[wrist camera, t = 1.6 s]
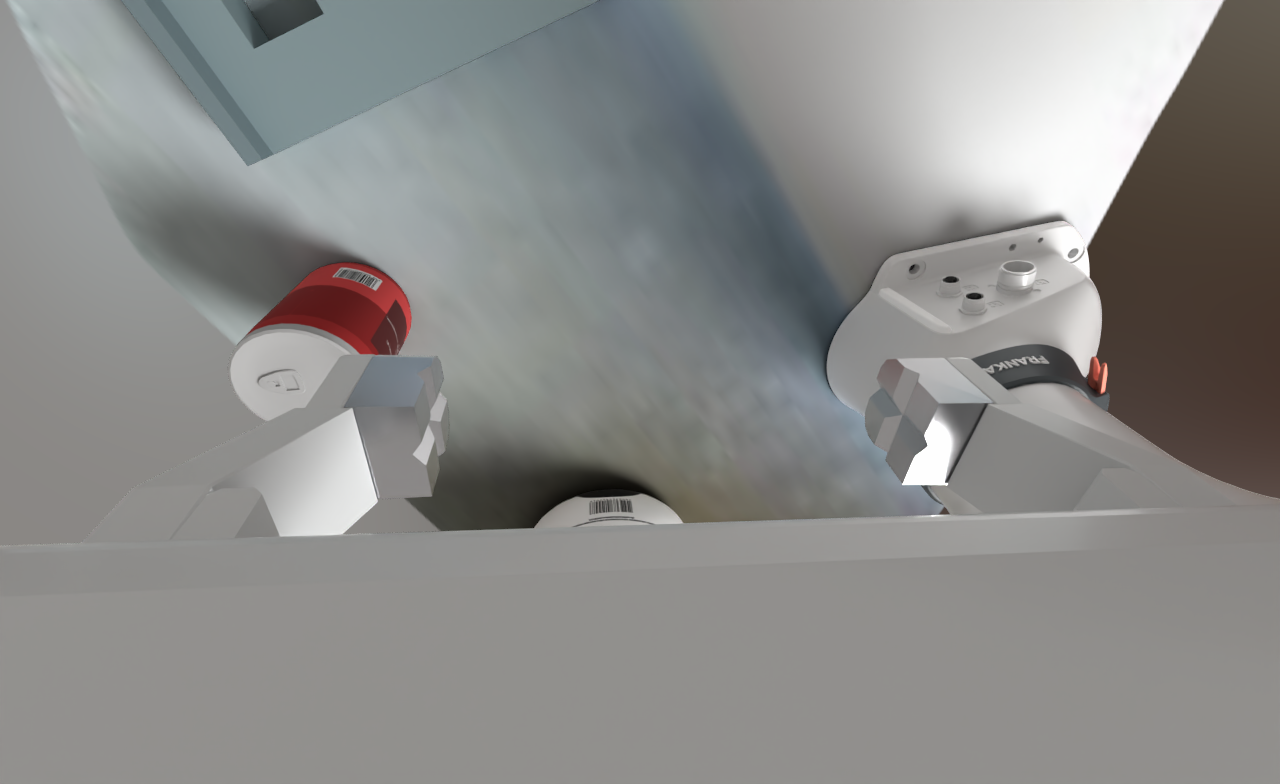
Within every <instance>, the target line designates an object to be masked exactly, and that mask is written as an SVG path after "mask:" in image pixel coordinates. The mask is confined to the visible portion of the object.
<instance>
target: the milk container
mask: <svg viewBox="0 0 1280 784" xmlns="http://www.w3.org/2000/svg"><path fill="white" fill-rule="evenodd" d="M680 523H683V522H682V521H681V519H680V518H679V516H678V515H677V514H676V513H675V512H674V511H673V510H672V509H671V508H669V507H668V506H667V505H666V504H665V503H663V502H661V501H659V500H657V499H655V498H653V497H651V496H649V495H647V494H644V493H640V492H635V491H629V490H622V489H607V490H597V491H591V492H586V493H583V494H580V495H577V496H574V497H572V498H569V499H567V500H565V501H563V502H561V503H559V504H558V505H556V506H555V507H554V508H552V509H551V510H550V511H549V512H547V513H546V514H545V515H544V516H543V517H542V518H541V519H540V521H539V522H538V523H537V524H536V526H535V527H534V528H557V527H588V526H619V525H649V524H680Z"/></svg>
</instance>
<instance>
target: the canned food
mask: <svg viewBox="0 0 1280 784" xmlns="http://www.w3.org/2000/svg"><path fill="white" fill-rule="evenodd" d="M410 327H411V311H410V305H409V302H408V300H407V297H406V295H405V294H404V292H403V290H402V289H401V288H400V286H399V285H398V284H397V283H396V282H395V281H394V280H393V279H391V278H390V277H389V276H388V275H386V274H385V273H383V272H381V271H379V270H377V269H375V268H373V267H370V266H367V265H364V264H359V263H349V262H343V263H336V264H330V265H326V266H323V267H321V268H318V269H316V270H315V271H313V272H312V273H310V274H309V275H308V276H307V277H306V278H305V279H304V280H303V281H302V282H301V283H299V284H298V285H297V286H296V287H295V288H294V289H293V290H292V291H291V292H290V293H289V294H288V295H287V296H286V297H285V298H284V299H283V300H282V301H281V302H280V303H279V304H277V305H276V306H275V307H274V308H273V309H272V310H271V311H270V312H269V313H268V314H267V315H266V316H265V317H264V318H263V319H262V320H261V321H260V322H259V323H258V324H257V325H255V326H254V327H253V328H252V329H251V331H250V332H249V333H248V334H247V335H246V336H245V337H244V338H243V339H242V340H241V341H240V342H239V343H238V344H237V346H236V348H235V349H234V350H233V352H232V354H231V356H230V358H229V363H228V377H229V381H230V384H231V387H232V389H233V391H234V392H235V394H236V395H237V397H238V398H239V400H240V401H241V402H242V403H243V404H244V405H245V406H246V407H247V408H248V409H249V410H250V411H251V412H253V413H254V414H255V415H257V416H258V417H259V418H261V419H263V420H265V421H266V422H267V421H270V420H272V419H274V418H276V417H278V416H280V415H282V414H284V413H286V412H288V411H290V410H292V409H294V408H305V407H306V406H307V404H308V403H309V401H310V400H311V398H312V397H313V395H314V394H315V392H316V391H317V390H318V388H319V387H320V385H321V384H322V382H323V381H324V379H325V378H326V376H327V375H328V373H329V372H330V371H331V369H332V368H333V366H334V365H335V363H336V362H337V360H338V359H339V358H340V357H341V356H343V355H358V354H374V355H398V353H399V351H400V349H401V347H402V345H403V343H404V341H405V339H406V337H407V335H408V333H409V330H410Z"/></svg>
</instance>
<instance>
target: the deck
mask: <svg viewBox="0 0 1280 784" xmlns="http://www.w3.org/2000/svg"><path fill="white" fill-rule="evenodd" d="M121 1H122V2H123V3H124V5H125V6H126V7H127V9H128V10H129V11H130V13H131V14H132V15H133V17H134V18H135V19H136V20H137V22H138V23H139V24H140V26H141V27H142V28H143V30H144V31H145V32H146V34H147V35H148V36H149V37H150V39H151V40H152V41H153V43H154V44H155V45H156V47H157V48H158V49H159V51H160V52H161V53H162V55H163V56H164V57H165V58H166V60H167V61H168V62H169V64H170V65H171V66H172V68H173V69H174V70H175V72H176V73H177V74H178V75H179V77H180V78H181V79H182V81H183V82H184V83H185V85H186V86H187V87H188V89H189V90H190V91H191V92H192V94H193V95H194V96H195V98H196V99H197V100H198V102H199V103H200V104H201V106H202V107H203V108H204V110H205V111H206V112H207V113H208V115H209V116H210V117H211V119H212V120H213V121H214V123H215V124H216V125H217V127H218V128H219V129H220V130H221V132H222V133H223V134H224V136H225V137H226V138H227V140H228V141H229V142H230V144H231V145H232V146H233V147H234V149H235V150H236V151H237V153H238V154H239V155H240V157H241V158H242V159H243V161H244V162H245V163H246V165H247V166H249V165H252V164H254V163H256V162H258V161H260V160H263V159H265V158H267V157H269V156H271V155H274V154H276V153H278V152H280V151H282V150H284V149H286V148H289V147H291V146H293V145H295V144H297V143H299V142H301V141H303V140H306V139H308V138H310V137H312V136H314V135H316V134H318V133H320V132H322V131H325V130H327V129H329V128H331V127H333V126H335V125H337V124H339V123H341V122H344V121H346V120H348V119H350V118H352V117H354V116H356V115H358V114H360V113H363V112H365V111H367V110H369V109H371V108H373V107H375V106H377V105H380V104H382V103H384V102H386V101H388V100H390V99H392V98H394V97H396V96H399V95H401V94H403V93H405V92H407V91H409V90H411V89H413V88H415V87H418V86H420V85H422V84H424V83H426V82H428V81H430V80H432V79H435V78H437V77H439V76H441V75H443V74H445V73H447V72H449V71H451V70H454V69H456V68H458V67H460V66H462V65H464V64H466V63H468V62H470V61H473V60H475V59H477V58H479V57H481V56H483V55H485V54H487V53H490V52H492V51H494V50H496V49H498V48H500V47H502V46H504V45H506V44H509V43H511V42H513V41H515V40H517V39H519V38H521V37H523V36H525V35H528V34H530V33H532V32H534V31H536V30H538V29H540V28H542V27H545V26H547V25H549V24H551V23H553V22H555V21H557V20H559V19H561V18H564V17H566V16H568V15H570V14H572V13H574V12H576V11H578V10H580V9H583V8H585V7H587V6H589V5H591V4H593V3H595V2H597V1H600V0H316V1H317V3H318V5H319V6H320V8H321V10H322V11H323V13H324V14H323V15H321V16H319V17H317V18H315V19H313V20H311V21H309V22H307V23H305V24H303V25H301V26H299V27H297V28H295V29H293V30H291V31H289V32H287V33H285V34H283V35H281V36H279V37H277V38H275V39H273V40H271V41H269V39H268V37H267V36H266V34H265V33H264V31H263V30H262V28H261V27H260V25H259V24H258V22H257V21H256V19H255V18H254V16H253V15H252V13H251V12H250V10H249V9H248V7H247V5H246V4H245V2H244V1H243V0H121Z"/></svg>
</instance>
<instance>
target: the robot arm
mask: <svg viewBox="0 0 1280 784" xmlns="http://www.w3.org/2000/svg"><path fill="white" fill-rule="evenodd" d="M1070 250H1071V251H1070ZM1069 251H1070V252H1069ZM914 264H915V267H914V268H913V269H912V270H910V271H909V269H910V267H911V266H912V265H914ZM1101 324H1102V311H1101V302H1100V298H1099V294H1098V292H1097V289H1096V287H1095V285H1094V284H1093V282H1092V280H1091V279H1090V278H1089V259H1088V253H1087V249H1086V245H1085V243H1084V240H1083V238H1082V236H1081V235H1080V233H1079V232H1078V231H1077V230H1076V228H1075V227H1074V226H1072V225H1071V224H1069V223H1067V222H1065V221H1055V222H1050V223H1045V224H1040V225H1035V226H1030V227H1026V228H1021V229H1016V230H1011V231H1006V232H1001V233H996V234H991V235H987V236H982V237H977V238H972V239H967V240H962V241H957V242H952V243H948V244H943V245H938V246H933V247H928V248H923V249H918V250H913V251H908V252H904V253H899V254H895V255H893V256H891V257H890V258H888V259H887V260H886V261H885V262H884V264H883V265H882V266H881V268H880V270H879V272H878V274H877V276H876V278H875V280H874V282H873V284H872V286H871V289H870V291H869V292H868V293H867V295H866V296H865V297H864V298H863V299H862V300H861V302H860V303H859V304H858V305H857V306H856V307H855V308H854V309H853V310H852V311H851V312H850V313H849V315H848V316H847V317H846V318H845V320H844V321H843V322H842V324H841V325H840V327H839V329H838V330H837V332H836V334H835V336H834V338H833V341H832V343H831V346H830V349H829V353H828V358H827V376H828V381H829V384H830V387H831V389H832V391H833V392H834V394H835V395H836V397H837V398H838V399H839V400H840V401H841V402H842V403H843V404H845V405H846V406H848V407H849V408H851V409H853V410H855V411H856V412H858V413H859V414H861V415H862V416H864V417H865V427H866V430H867V433H868V436H869V437H870V439H871V440H872V442H873V443H874V445H876V446H878V447H879V448H881V449H883V450H884V451H886V452H888V453H887V456H886V462H887V463H888V465H889V466H890V467H891V469H892V470H893V472H894V473H895V474H896V476H897V477H898V479H899V480H900V481H901V483H902V484H903V485H921V486H922V487H923V489H924V490H925V491H926V492H927V494H928V495H929V496H930V497H931V498H932V499H933V500H935V501H936V502H938V503H940V504H942V505H944V506H945V507H946V509H947V510H948V511H949V513H950V514H951V515H923V516H893V517H863V518H833V519H802V520H772V521H741V522H710V523H680V524H649V525H619V526H588V527H557V528H527V529H496V530H466V531H437V532H436V531H435V532H408V533H407V532H405V533H377V534H376V533H375V534H344V535H342V534H343V533H344V532H345V531H346V530H347V529H349V528H350V527H351V526H352V525H353V524H354V523H355V522H356V521H357V520H359V519H360V518H361V517H362V516H363V515H364V514H365V513H366V512H367V511H368V510H370V509H371V508H372V507H373V506H374V505H375V504H376V503H377V502H378V500H377V499H391V498H411V497H431V496H432V495H433V491H434V488H435V484H436V481H437V478H438V474H439V471H440V465H439V460H438V456H440V455H441V454H442V453H444V452H445V450H446V446H447V442H448V436H449V425H450V424H449V409H448V402H447V399H446V398H445V397H444V396H443V395H442V394H441V393H440V392H439V391H440V388H441V385H442V382H443V379H444V377H443V371H442V366H441V362H440V360H439V358H438V356H408V355H374V354H358V355H343V356H341V357H340V358H339V359H338V360H337V362H336V363H335V365H334V366H333V368H332V369H331V371H330V372H329V373H328V375H327V376H326V378H325V379H324V381H323V382H322V384H321V385H320V387H319V388H318V390H317V391H316V392H315V394H314V395H313V397H312V398H311V400H310V401H309V403H308V404H307V406H306V407H305V408H294V409H292V410H290V411H288V412H286V413H284V414H282V415H280V416H278V417H276V418H274V419H272V420H270V421H267V422H265V423H263V424H261V425H259V426H258V427H255V428H253V429H251V430H249V431H247V432H245V433H243V434H241V435H239V436H237V437H235V438H233V439H231V440H229V441H227V442H225V443H223V444H221V445H219V446H217V447H215V448H213V449H211V450H209V451H207V452H204V453H203V454H201V455H199V456H196V457H194V458H193V459H190V460H188V461H186V462H184V463H182V464H180V465H178V466H176V467H174V468H172V469H170V470H168V471H166V472H164V473H162V474H160V475H158V476H156V477H154V478H152V479H150V480H148V481H146V482H144V483H142V484H139V485H138V486H135V487H133V488H132V489H131V490H130V492H128V494H126V495H125V497H124V498H123V499H122V500H121V501H120V502H119V503H118V504H117V505H116V506H115V507H114V508H113V510H111V512H110V513H109V514H108V515H107V516H106V517H105V518H104V519H103V520H102V521H101V522H100V523H99V524H98V525H97V527H96V528H95V529H94V530H93V531H92V532H91V533H90V534H89V535H88V536H87V537H86V538H85V540H84V541H83V542H82V543H71V544H40V545H11V546H0V784H1280V499H1276V498H1271V497H1267V496H1264V495H1260V494H1256V493H1253V492H1249V491H1246V490H1243V489H1240V488H1237V487H1235V486H1232V485H1230V484H1227V483H1224V482H1222V481H1219V480H1217V479H1214V478H1212V477H1210V476H1208V475H1205V474H1203V473H1201V472H1199V471H1197V470H1195V469H1193V468H1191V467H1189V466H1187V465H1185V464H1183V463H1181V462H1180V461H1178V460H1176V459H1175V458H1173V457H1171V456H1170V455H1168V454H1167V453H1165V452H1164V451H1162V450H1161V449H1159V448H1158V447H1157V446H1155V445H1154V444H1152V443H1151V442H1149V441H1148V440H1146V439H1145V438H1143V437H1142V436H1141V435H1139V434H1138V433H1136V432H1135V431H1133V430H1132V429H1130V428H1129V427H1127V426H1126V425H1125V424H1123V423H1122V422H1120V421H1119V420H1117V419H1116V418H1114V417H1113V416H1112V415H1110V414H1109V413H1107V409H1108V404H1109V394H1108V393H1106V392H1105V386H1106V379H1107V364H1106V363H1103V364H1102V366H1101V368H1100V366H1099V363H1098V360H1097V358H1096V357H1095V356H1096V353H1097V349H1098V346H1099V340H1100V334H1101ZM1088 373H1089V376H1088V379H1086V378H1085V377H1086V376H1087V374H1088Z"/></svg>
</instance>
